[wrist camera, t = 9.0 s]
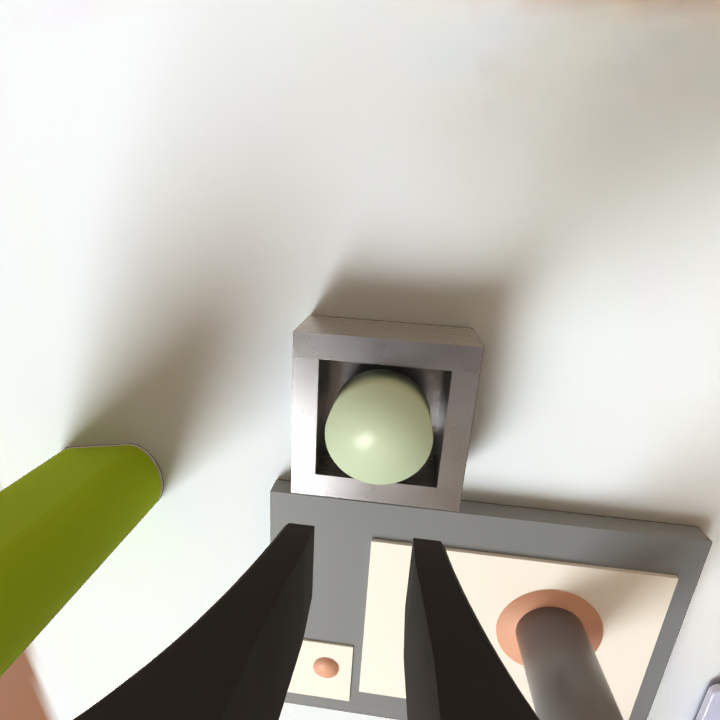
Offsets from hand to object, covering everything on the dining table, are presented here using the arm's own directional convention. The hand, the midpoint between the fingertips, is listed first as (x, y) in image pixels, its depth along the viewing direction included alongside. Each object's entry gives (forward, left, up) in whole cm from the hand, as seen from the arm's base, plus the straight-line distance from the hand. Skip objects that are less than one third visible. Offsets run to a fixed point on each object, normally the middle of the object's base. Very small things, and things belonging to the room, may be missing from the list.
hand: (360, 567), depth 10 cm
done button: (0, 0, -8) cm, 8 cm away
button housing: (0, 0, -10) cm, 10 cm away
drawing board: (-5, +12, -10) cm, 17 cm away
